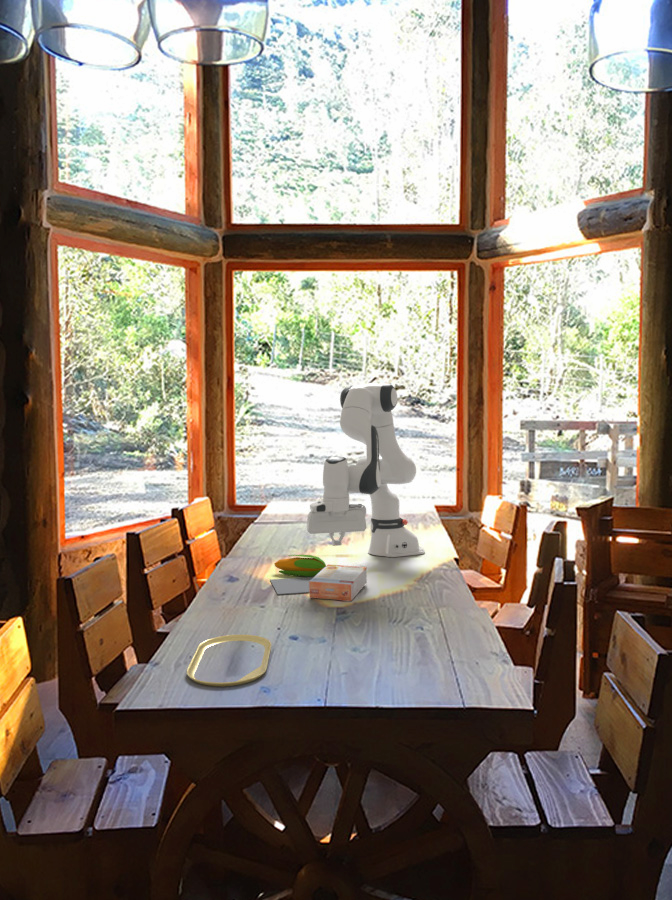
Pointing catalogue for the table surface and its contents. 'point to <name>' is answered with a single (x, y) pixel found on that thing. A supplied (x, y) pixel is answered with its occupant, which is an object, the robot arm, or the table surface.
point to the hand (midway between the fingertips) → (336, 545)
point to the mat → (291, 585)
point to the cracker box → (338, 582)
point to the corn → (301, 566)
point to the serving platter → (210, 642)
